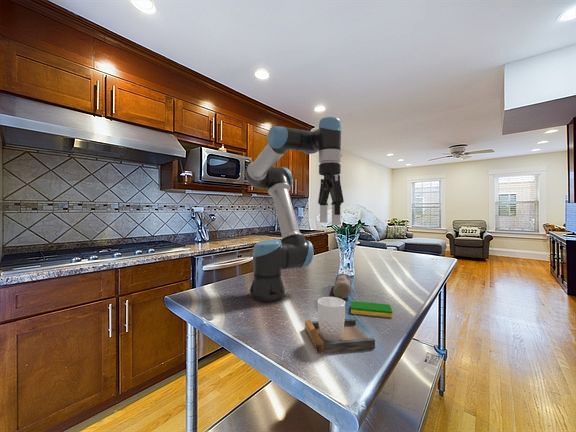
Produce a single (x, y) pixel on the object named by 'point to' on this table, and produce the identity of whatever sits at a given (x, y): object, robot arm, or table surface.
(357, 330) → the wooden tray
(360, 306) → the dish sponge
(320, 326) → the white cup
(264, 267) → the robot arm
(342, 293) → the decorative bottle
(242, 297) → the table surface
